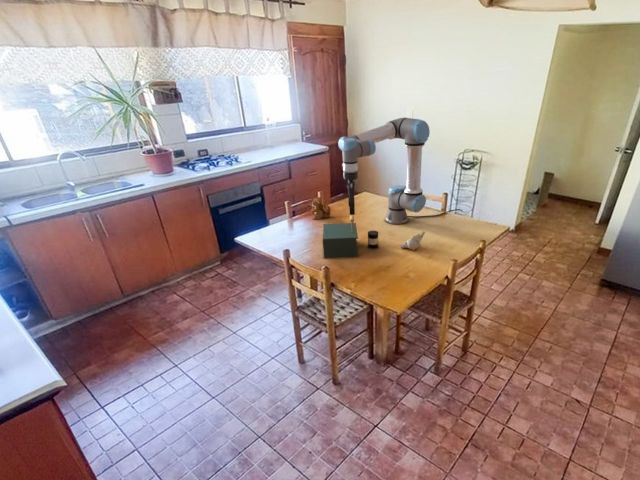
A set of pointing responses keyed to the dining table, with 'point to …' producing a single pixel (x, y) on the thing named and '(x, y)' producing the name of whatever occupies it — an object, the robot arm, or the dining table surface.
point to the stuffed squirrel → (320, 209)
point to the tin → (372, 239)
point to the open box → (340, 248)
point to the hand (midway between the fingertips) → (351, 210)
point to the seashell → (413, 242)
